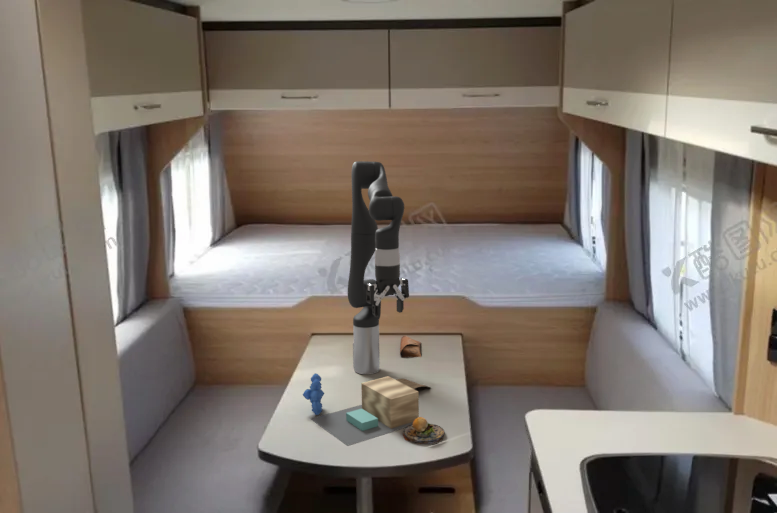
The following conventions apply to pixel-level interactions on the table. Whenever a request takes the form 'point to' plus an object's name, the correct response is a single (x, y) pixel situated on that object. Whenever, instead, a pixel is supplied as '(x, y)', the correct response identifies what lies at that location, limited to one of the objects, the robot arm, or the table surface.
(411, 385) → the clay tablet
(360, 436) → the mat
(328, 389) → the table surface
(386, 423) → the oak block
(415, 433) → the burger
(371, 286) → the robot arm
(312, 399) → the blue knobby sculpture
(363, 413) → the card box
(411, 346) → the sunglasses case
